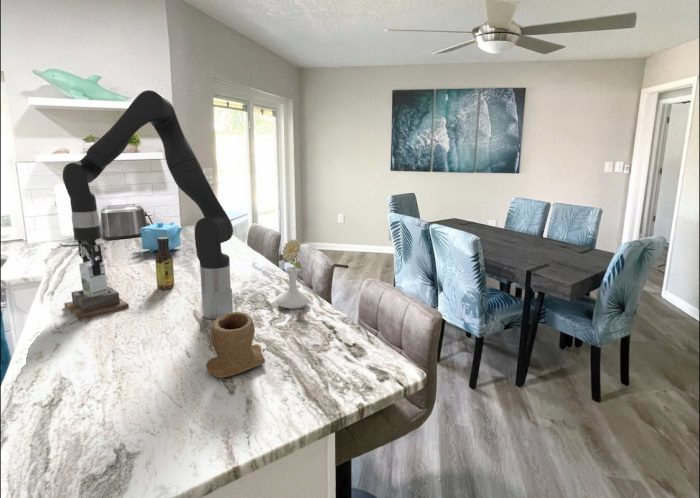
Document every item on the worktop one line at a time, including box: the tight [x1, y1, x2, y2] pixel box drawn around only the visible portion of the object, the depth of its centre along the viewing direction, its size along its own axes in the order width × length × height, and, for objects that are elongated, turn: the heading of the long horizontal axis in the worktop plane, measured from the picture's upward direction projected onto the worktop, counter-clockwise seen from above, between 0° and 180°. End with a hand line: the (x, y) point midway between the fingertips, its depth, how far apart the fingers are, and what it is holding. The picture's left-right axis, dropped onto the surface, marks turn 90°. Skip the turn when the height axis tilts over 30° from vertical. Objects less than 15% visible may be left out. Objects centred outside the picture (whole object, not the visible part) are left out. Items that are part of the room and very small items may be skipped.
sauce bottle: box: [155, 237, 175, 291], centre depth 166 cm, size 6×6×20 cm
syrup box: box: [78, 261, 108, 298], centre depth 145 cm, size 6×6×14 cm
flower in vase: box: [276, 238, 310, 310], centre depth 151 cm, size 13×11×25 cm
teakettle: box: [139, 221, 186, 253], centre depth 221 cm, size 19×19×15 cm
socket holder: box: [64, 285, 130, 321], centre depth 147 cm, size 15×15×6 cm
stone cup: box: [205, 311, 266, 379], centre depth 109 cm, size 15×12×15 cm
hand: (92, 272), depth 144 cm, fingers open, 8 cm apart
